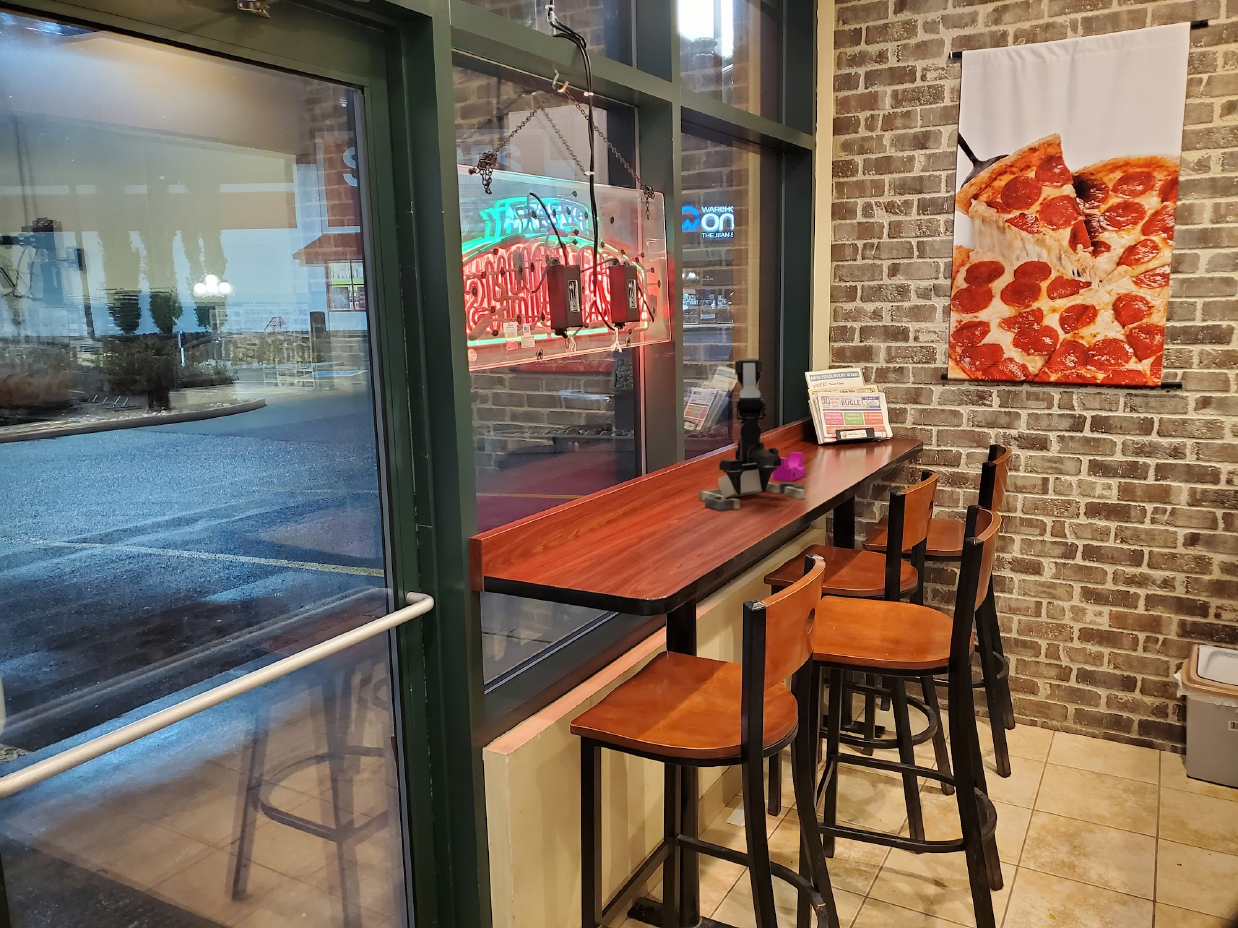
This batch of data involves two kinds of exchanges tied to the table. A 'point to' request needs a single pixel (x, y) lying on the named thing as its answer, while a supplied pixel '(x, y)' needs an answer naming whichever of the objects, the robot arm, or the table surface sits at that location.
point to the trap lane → (719, 503)
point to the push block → (748, 484)
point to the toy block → (790, 468)
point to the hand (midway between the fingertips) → (751, 492)
